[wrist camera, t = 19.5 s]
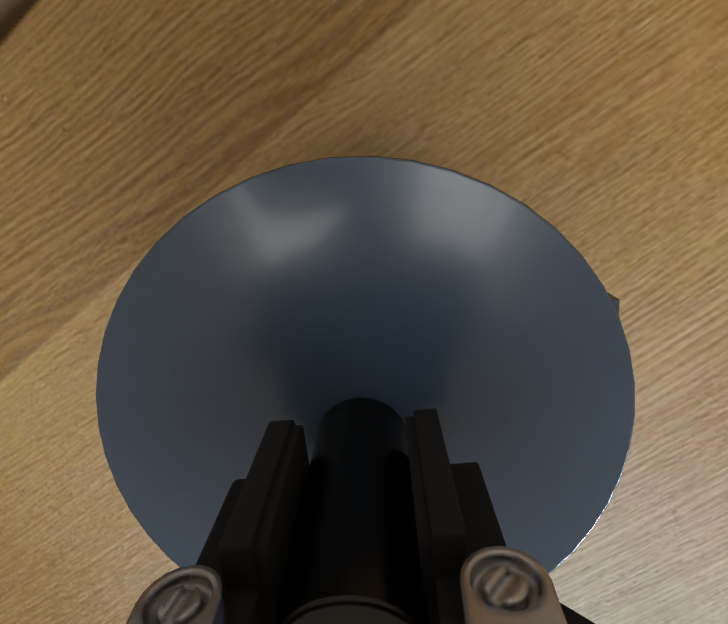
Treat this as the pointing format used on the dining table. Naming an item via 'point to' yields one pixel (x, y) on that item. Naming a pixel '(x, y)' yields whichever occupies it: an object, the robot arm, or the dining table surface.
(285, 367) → the lid
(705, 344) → the dining table surface
